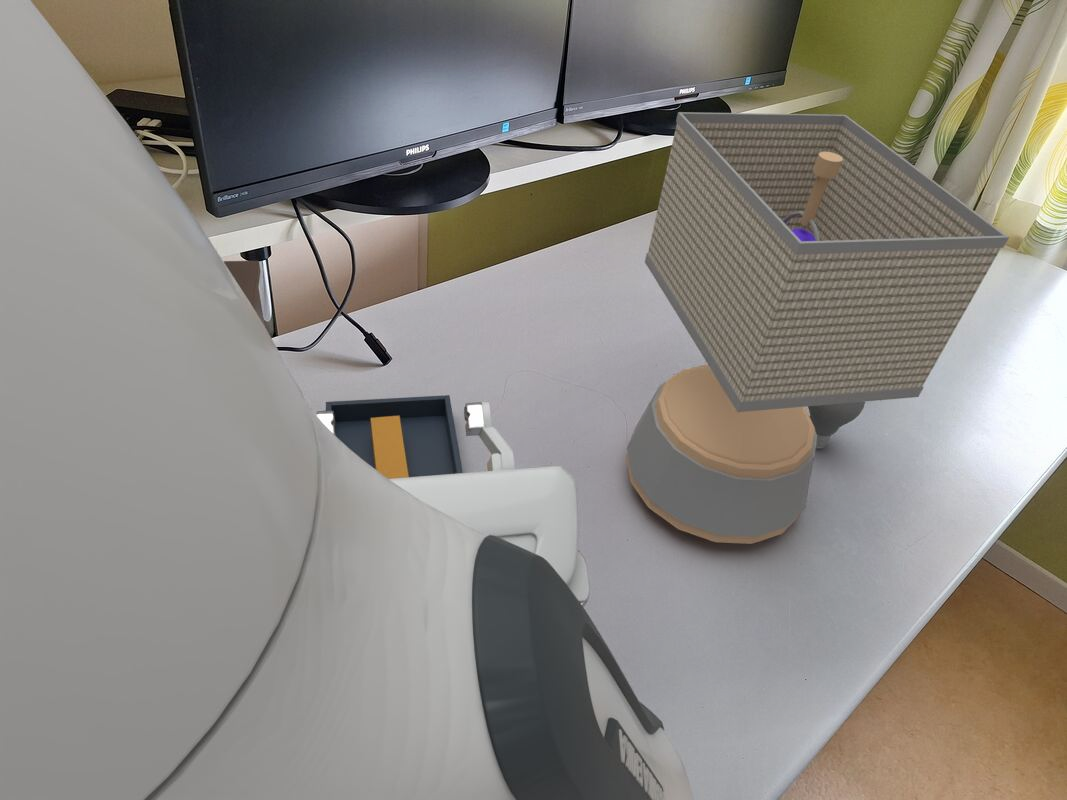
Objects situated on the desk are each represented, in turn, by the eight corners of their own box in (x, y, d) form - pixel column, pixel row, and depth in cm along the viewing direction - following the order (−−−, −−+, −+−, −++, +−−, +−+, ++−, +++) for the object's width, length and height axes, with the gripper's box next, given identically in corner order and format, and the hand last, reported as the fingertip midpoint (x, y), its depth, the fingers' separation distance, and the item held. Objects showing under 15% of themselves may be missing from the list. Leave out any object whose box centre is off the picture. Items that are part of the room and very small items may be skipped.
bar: (390, 616, 65) (389, 595, 63) (371, 438, 81) (370, 417, 79) (425, 610, 66) (426, 590, 64) (400, 435, 82) (399, 415, 80)
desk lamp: (839, 556, 76) (1034, 224, 52) (661, 581, 71) (783, 230, 47) (747, 411, 91) (863, 104, 67) (596, 423, 87) (663, 100, 63)
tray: (326, 644, 63) (323, 624, 61) (328, 422, 83) (325, 401, 81) (483, 626, 66) (485, 606, 64) (448, 414, 86) (449, 394, 84)
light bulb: (796, 460, 86) (827, 393, 79) (781, 424, 90) (810, 358, 84) (847, 463, 86) (882, 396, 80) (830, 427, 91) (862, 361, 84)
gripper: (609, 617, 42) (574, 382, 46) (215, 666, 38) (216, 402, 42) (581, 623, 48) (553, 414, 52) (238, 665, 44) (237, 434, 48)
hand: (400, 408), depth 47 cm, fingers open, 8 cm apart
